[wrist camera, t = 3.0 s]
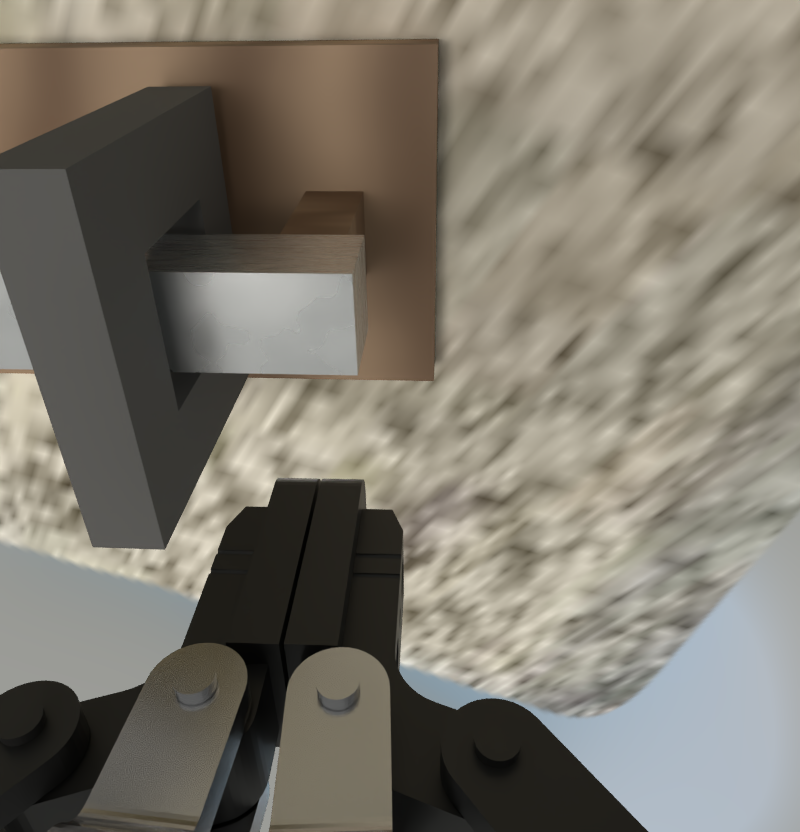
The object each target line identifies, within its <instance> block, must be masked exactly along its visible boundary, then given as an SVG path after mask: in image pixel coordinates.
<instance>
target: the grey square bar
mask: <svg viewBox="0 0 800 832" xmlns="http://www.w3.org/2000/svg"><path fill="white" fill-rule="evenodd" d="M145 258H146V263H147V268H148V272H149V277H150V281H151V286H152V291H153V295H154V300H155V304H156V309H157V314H158V318H159V323H160V328H161V332H162V337H163V341H164V346H165V351H166V355H167V360H168V364H169V369H170V372H195V373H250V374H306V375H358V372H359V367H360V363H361V358H362V354H363V349H364V345H365V341H366V336H367V332H368V309H367V286H366V263H365V240H364V235H290V234H164V235H163V236H162V237H161V238H160V239H159V240H158V241H157V242H156V243H155V244H154V245H153V246H152V247H151V248H150V249H149V250H148V251H147V252H146V253H145ZM0 369H28V370H33V367H32V364H31V361H30V358H29V355H28V352H27V349H26V346H25V343H24V340H23V337H22V334H21V331H20V328H19V325H18V322H17V319H16V316H15V313H14V310H13V307H12V305H11V302H10V299H9V296H8V293H7V290H6V287H5V284H4V281H3V278H2V275H1V272H0Z"/></svg>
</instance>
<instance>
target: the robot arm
mask: <svg viewBox="0 0 800 832" xmlns="http://www.w3.org/2000/svg"><path fill="white" fill-rule="evenodd" d="M403 598H404V568H403V530H402V528H401V526H400V524H399V522H398V520H397V518H396V516H395V514H394V512H393V510H379V509H366V493H365V482H364V480H356V479H322V480H320V479H302V478H278V479H277V480H276V482H275V485H274V488H273V492H272V495H271V498H270V501H269V504H268V507H245V508H244V509H243V510H242V511H241V512H240V513H239V514H238V515H237V516H236V518H235V519H234V520H233V521H232V522H231V523H230V524H229V525H228V526H227V527H226V530H225V532H224V535H223V538H222V540H221V543H220V546H219V548H218V554H216V556H215V559H214V562H213V565H212V567H211V574H209V575H208V578H207V581H206V583H205V586H204V589H203V591H202V594H201V597H200V599H199V602H198V605H197V607H196V610H195V613H194V615H193V618H192V621H191V623H190V626H189V629H188V631H187V634H186V637H185V639H184V642H183V645H182V647H181V649H178V650H177V651H175V652H173V653H171V654H170V655H168V656H167V657H165V658H164V659H163V660H162V661H161V662H160V663H158V664H157V665H156V667H155V668H154V669H153V670H152V671H151V673H150V675H149V676H148V678H147V680H146V682H145V683H144V684H141V685H139V686H137V687H135V688H132V689H129V690H125V691H122V692H118V693H114V694H110V695H106V696H102V697H98V698H94V699H90V700H86V701H82V702H79V700H78V697H77V696H76V694H75V693H74V691H73V690H72V689H70V688H69V687H68V686H66V685H64V684H62V683H59V682H55V681H36V682H30V683H26V684H23V685H20V686H17V687H15V688H13V689H10V690H8V691H6V692H5V693H3V694H1V695H0V832H260V829H261V825H262V822H263V818H264V814H265V811H266V807H267V804H268V799H269V789H270V788H269V781H268V780H269V776H270V771H271V766H272V762H273V757H274V752H275V747H280V749H279V758H278V765H277V774H276V782H275V790H274V798H273V806H272V815H271V822H270V828H269V832H648V831H647V830H646V829H645V828H644V827H643V826H642V825H641V824H640V823H639V822H638V821H637V820H636V819H635V818H634V817H633V816H632V815H631V814H630V813H629V812H628V811H627V810H626V809H625V807H624V806H623V805H621V803H620V802H619V801H618V800H617V799H616V798H615V797H614V796H613V795H612V794H611V793H610V792H609V791H608V790H607V789H606V788H605V787H604V786H603V785H602V784H601V783H600V782H599V781H598V780H597V779H596V778H595V777H594V776H593V775H592V774H591V773H590V772H589V771H588V770H587V768H585V766H584V765H582V764H581V762H580V761H579V760H578V759H577V758H576V757H575V756H574V755H573V754H572V753H571V752H570V751H569V750H568V749H567V748H566V747H565V746H564V745H563V744H562V743H561V742H560V741H559V740H558V739H557V738H556V737H555V736H554V735H553V734H552V733H551V732H550V731H549V730H548V729H547V727H546V726H545V725H543V724H542V722H541V721H540V720H539V719H538V718H537V717H536V716H534V715H533V714H532V713H531V712H530V711H528V710H527V709H525V708H524V707H522V706H520V705H518V704H516V703H514V702H510V701H507V700H502V699H481V700H476V701H473V702H470V703H468V704H466V705H464V706H463V707H461V708H460V709H458V710H456V709H452V708H450V707H447V706H444V705H441V704H439V703H436V702H433V701H431V700H429V699H426V698H424V697H423V696H421V695H420V694H418V693H417V692H416V691H414V690H413V689H412V688H411V687H410V686H409V685H408V684H407V683H406V682H405V680H404V679H403V677H402V676H401V674H400V672H399V666H400V649H401V632H402V615H403Z"/></svg>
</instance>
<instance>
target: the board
mask: <svg viewBox="0 0 800 832" xmlns="http://www.w3.org/2000/svg"><path fill="white" fill-rule="evenodd" d="M438 50H439V39H405V40H307V41H209V42H111V43H12V44H0V153H3V152H5V151H7V150H9V149H11V148H14V147H16V146H18V145H20V144H22V143H25V142H27V141H29V140H31V139H33V138H36V137H38V136H40V135H42V134H44V133H47V132H49V131H51V130H53V129H56V128H58V127H60V126H62V125H64V124H67V123H69V122H71V121H73V120H75V119H78V118H80V117H82V116H84V115H86V114H89V113H91V112H93V111H95V110H97V109H100V108H102V107H104V106H106V105H108V104H111V103H113V102H115V101H117V100H120V99H122V98H124V97H126V96H128V95H131V94H133V93H135V92H137V91H139V90H142V89H144V88H146V87H168V86H211V90H212V97H213V104H214V111H215V118H216V125H217V132H218V139H219V145H220V152H221V159H222V166H223V173H224V180H225V187H226V194H227V201H228V207H229V214H230V221H231V228H232V234H290V235H364V240H365V263H366V286H367V309H368V332H367V336H366V341H365V345H364V349H363V354H362V358H361V363H360V367H359V372H358V375H306V374H250V373H249V375H248V377H249V378H303V379H358V380H412V381H434V362H435V284H436V206H437V128H438ZM0 373H31V374H35V373H34V370H28V369H0Z"/></svg>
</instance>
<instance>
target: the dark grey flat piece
mask: <svg viewBox="0 0 800 832" xmlns="http://www.w3.org/2000/svg"><path fill="white" fill-rule="evenodd" d="M164 234H232V228H231V221H230V214H229V207H228V201H227V194H226V187H225V180H224V173H223V166H222V159H221V152H220V145H219V139H218V132H217V125H216V118H215V111H214V104H213V97H212V90H211V86H168V87H146V88H144V89H142V90H139V91H137V92H135V93H133V94H131V95H128V96H126V97H124V98H122V99H120V100H117V101H115V102H113V103H111V104H108V105H106V106H104V107H102V108H100V109H97V110H95V111H93V112H91V113H89V114H86V115H84V116H82V117H80V118H78V119H75V120H73V121H71V122H69V123H67V124H64V125H62V126H60V127H58V128H56V129H53V130H51V131H49V132H47V133H44V134H42V135H40V136H38V137H36V138H33V139H31V140H29V141H27V142H25V143H22V144H20V145H18V146H16V147H14V148H11V149H9V150H7V151H5V152H3V153H0V272H1V275H2V278H3V281H4V284H5V287H6V290H7V293H8V296H9V299H10V302H11V305H12V307H13V310H14V313H15V316H16V319H17V322H18V325H19V328H20V331H21V334H22V337H23V340H24V343H25V346H26V349H27V352H28V355H29V358H30V361H31V364H32V367H33V370H34V373H35V376H36V379H37V382H38V385H39V388H40V391H41V394H42V397H43V400H44V403H45V406H46V409H47V412H48V415H49V418H50V421H51V424H52V427H53V430H54V433H55V436H56V439H57V442H58V445H59V448H60V451H61V454H62V457H63V460H64V463H65V466H66V469H67V472H68V475H69V478H70V481H71V484H72V487H73V490H74V492H75V495H76V498H77V501H78V504H79V507H80V510H81V513H82V516H83V519H84V522H85V525H86V528H87V531H88V534H89V537H90V540H91V543H92V546H93V547H105V548H135V549H165V548H166V546H167V544H168V542H169V540H170V538H171V536H172V534H173V532H174V530H175V527H176V525H177V523H178V521H179V519H180V517H181V515H182V513H183V511H184V509H185V507H186V505H187V502H188V500H189V498H190V496H191V494H192V492H193V490H194V488H195V486H196V484H197V482H198V479H199V477H200V475H201V473H202V471H203V469H204V467H205V465H206V463H207V461H208V459H209V457H210V454H211V452H212V450H213V448H214V446H215V444H216V442H217V440H218V438H219V436H220V434H221V432H222V429H223V427H224V425H225V423H226V421H227V419H228V417H229V415H230V413H231V411H232V409H233V407H234V404H235V402H236V400H237V398H238V396H239V394H240V392H241V390H242V388H243V386H244V384H245V381H246V379H247V377H248V375H249V373H195V372H170V369H169V364H168V360H167V355H166V351H165V346H164V341H163V337H162V332H161V328H160V323H159V318H158V314H157V309H156V304H155V300H154V295H153V291H152V286H151V281H150V277H149V272H148V268H147V263H146V258H145V253H146V252H147V251H148V250H149V249H150V248H151V247H152V246H153V245H154V244H155V243H156V242H157V241H158V240H159V239H160V238H161V237H162V236H163V235H164Z"/></svg>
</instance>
